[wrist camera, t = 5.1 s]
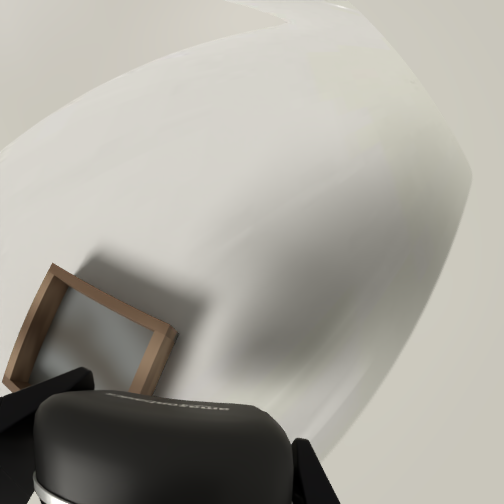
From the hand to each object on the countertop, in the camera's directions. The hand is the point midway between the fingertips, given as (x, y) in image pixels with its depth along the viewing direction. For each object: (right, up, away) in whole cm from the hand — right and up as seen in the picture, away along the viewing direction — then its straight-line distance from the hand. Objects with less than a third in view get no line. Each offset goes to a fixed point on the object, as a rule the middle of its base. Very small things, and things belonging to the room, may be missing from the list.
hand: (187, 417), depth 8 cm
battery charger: (-1, -4, +6) cm, 7 cm away
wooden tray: (-11, -4, +12) cm, 17 cm away
